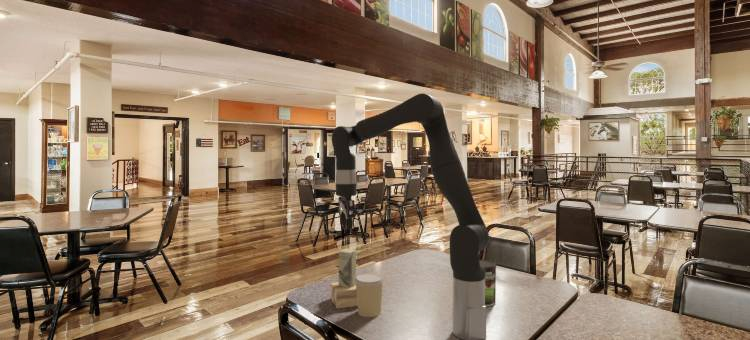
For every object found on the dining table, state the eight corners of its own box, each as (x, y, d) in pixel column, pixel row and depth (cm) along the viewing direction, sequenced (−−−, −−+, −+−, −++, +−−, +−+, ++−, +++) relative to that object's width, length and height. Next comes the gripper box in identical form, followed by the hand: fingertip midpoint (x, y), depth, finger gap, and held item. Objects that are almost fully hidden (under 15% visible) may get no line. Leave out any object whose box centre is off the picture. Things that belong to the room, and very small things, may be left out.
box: (338, 286, 137) (337, 251, 136) (344, 282, 141) (344, 248, 140) (350, 288, 134) (350, 252, 134) (356, 284, 138) (356, 249, 138)
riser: (364, 304, 135) (364, 288, 135) (336, 308, 132) (336, 291, 132) (356, 294, 144) (356, 279, 144) (330, 298, 141) (330, 282, 141)
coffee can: (501, 305, 134) (502, 265, 133) (475, 308, 131) (476, 268, 131) (485, 294, 144) (486, 258, 143) (461, 297, 141) (461, 260, 141)
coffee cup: (367, 304, 135) (367, 271, 135) (388, 311, 129) (388, 276, 129) (350, 313, 128) (349, 278, 127) (371, 321, 122) (371, 284, 121)
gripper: (361, 183, 131) (362, 230, 131) (350, 180, 144) (351, 223, 145) (340, 184, 128) (340, 231, 129) (331, 181, 142) (332, 224, 142)
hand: (346, 227), depth 137 cm, fingers open, 8 cm apart
